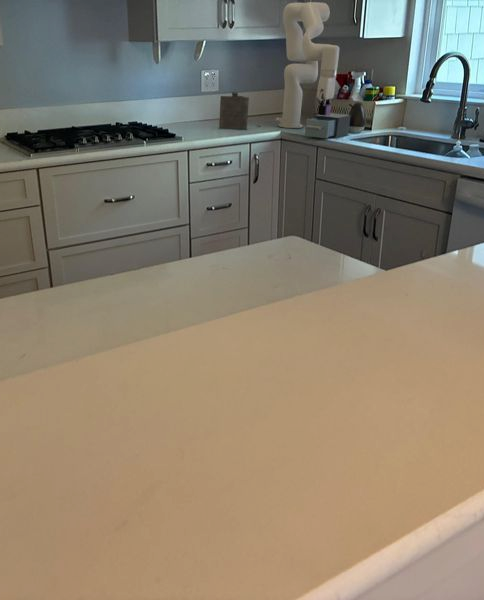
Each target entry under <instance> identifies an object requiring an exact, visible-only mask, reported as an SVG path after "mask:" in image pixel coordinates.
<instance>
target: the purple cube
mask: <svg viewBox="0 0 484 600" xmlns="http://www.w3.org/2000/svg"><path fill="white" fill-rule="evenodd" d="M325 106H326V109H325V116H327V115H330V113H331V110H332V104H331V105H326V104H325ZM318 111H319V105H317V112H318ZM317 115H319V114H318V113H317Z"/></svg>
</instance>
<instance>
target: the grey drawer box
mask: <svg viewBox="0 0 484 600" xmlns="http://www.w3.org/2000/svg"><path fill="white" fill-rule="evenodd" d="M319 117H320V118H329V119H337V123H336V132H335V135H334V136H330V137H329V138H330V139H331V138H332V139H338V138H343V137H346V136H349V133H350V132H349V124H350V117H351V115H348V114H342V113H335V112H334V113H333V112H330V115H327V116H325V115H318V114H315V115H314V116H313V119H314V118H319Z"/></svg>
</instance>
